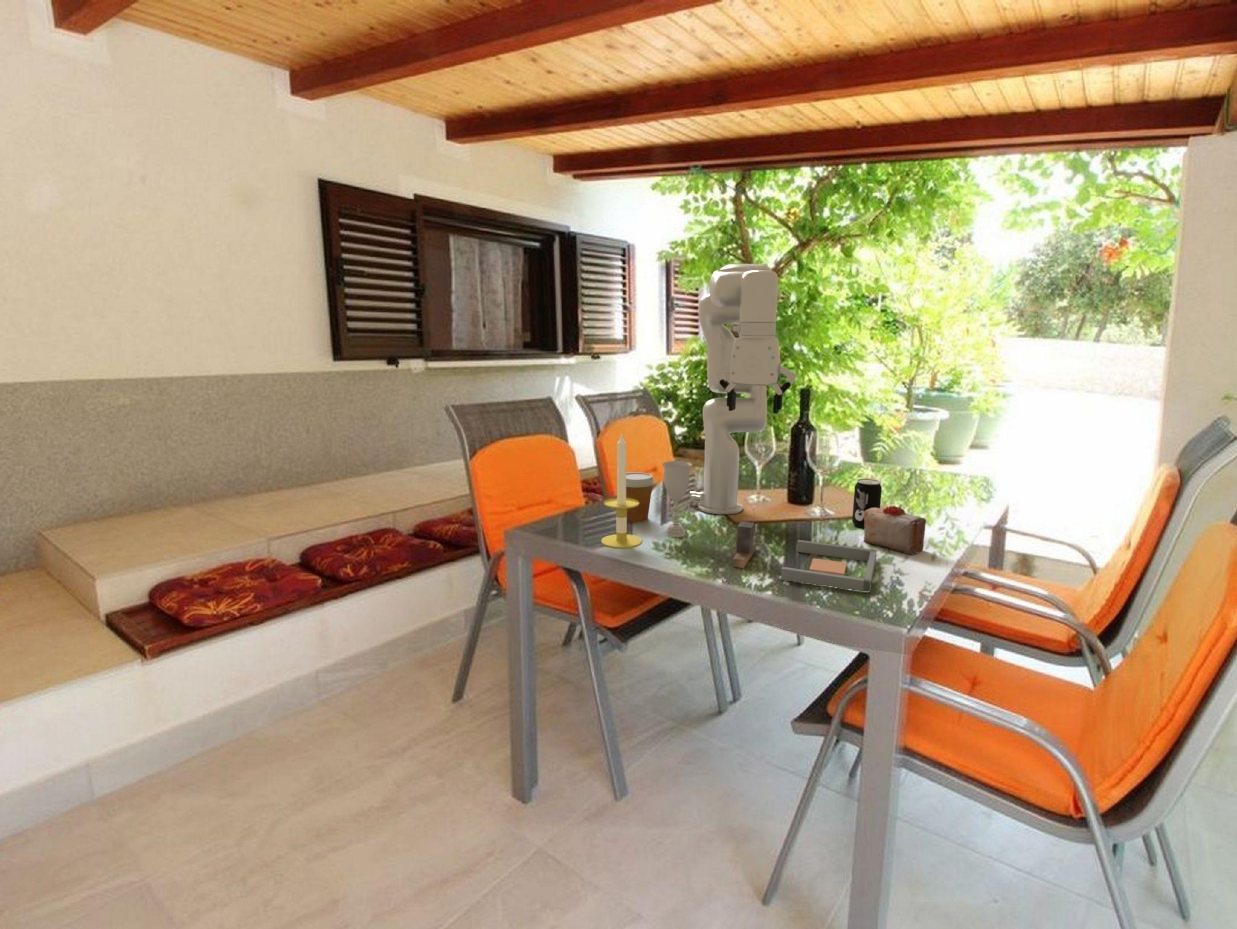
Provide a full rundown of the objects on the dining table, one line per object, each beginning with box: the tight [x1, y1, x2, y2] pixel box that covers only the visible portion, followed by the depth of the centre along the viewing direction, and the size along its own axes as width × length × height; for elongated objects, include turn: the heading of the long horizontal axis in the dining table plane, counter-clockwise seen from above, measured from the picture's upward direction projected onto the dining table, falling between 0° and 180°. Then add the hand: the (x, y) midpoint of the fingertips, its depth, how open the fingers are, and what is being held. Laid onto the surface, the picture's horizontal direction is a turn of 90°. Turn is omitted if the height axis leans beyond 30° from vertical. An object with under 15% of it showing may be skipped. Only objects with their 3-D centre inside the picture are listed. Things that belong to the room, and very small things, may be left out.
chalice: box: [662, 460, 692, 538], centre depth 167 cm, size 7×7×18 cm
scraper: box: [732, 520, 757, 569], centre depth 151 cm, size 3×13×8 cm, turn 158°
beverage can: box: [851, 478, 883, 529], centre depth 175 cm, size 7×7×12 cm
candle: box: [600, 432, 643, 550], centre depth 160 cm, size 10×10×27 cm
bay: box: [780, 539, 878, 591], centre depth 144 cm, size 17×20×2 cm
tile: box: [808, 557, 847, 576], centre depth 145 cm, size 7×7×2 cm
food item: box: [863, 504, 927, 555], centre depth 159 cm, size 14×8×10 cm, turn 39°
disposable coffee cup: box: [626, 471, 655, 523], centre depth 180 cm, size 10×10×12 cm
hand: (753, 411), depth 146 cm, fingers open, 9 cm apart
